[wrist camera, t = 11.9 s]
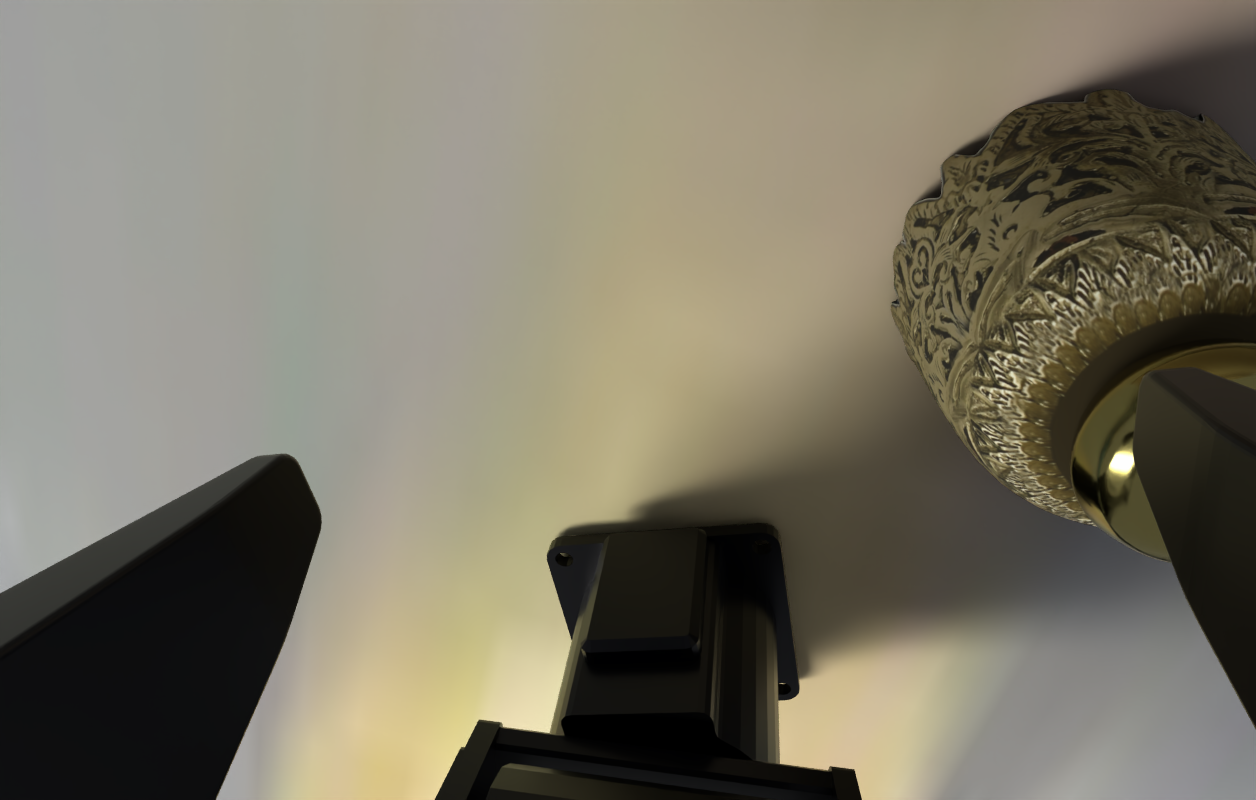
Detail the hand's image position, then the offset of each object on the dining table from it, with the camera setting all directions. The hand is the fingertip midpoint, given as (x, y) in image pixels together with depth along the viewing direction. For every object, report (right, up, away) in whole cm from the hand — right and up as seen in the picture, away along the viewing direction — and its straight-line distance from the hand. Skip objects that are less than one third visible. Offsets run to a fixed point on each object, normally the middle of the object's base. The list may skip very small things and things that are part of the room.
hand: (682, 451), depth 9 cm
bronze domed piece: (+8, -1, +3) cm, 8 cm away
